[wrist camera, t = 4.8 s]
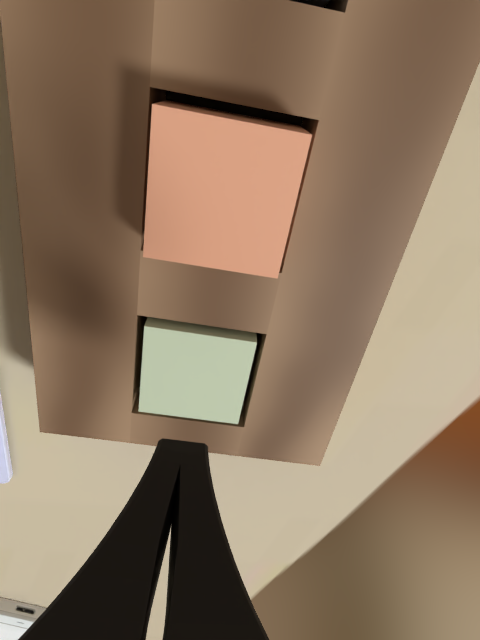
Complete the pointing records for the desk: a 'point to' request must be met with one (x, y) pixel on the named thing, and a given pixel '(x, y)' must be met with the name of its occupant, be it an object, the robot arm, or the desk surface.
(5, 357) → the desk surface
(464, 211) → the desk surface
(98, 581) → the robot arm
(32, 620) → the hard drive
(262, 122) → the terracotta button
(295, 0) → the slate button
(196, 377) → the sage button
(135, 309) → the button panel
